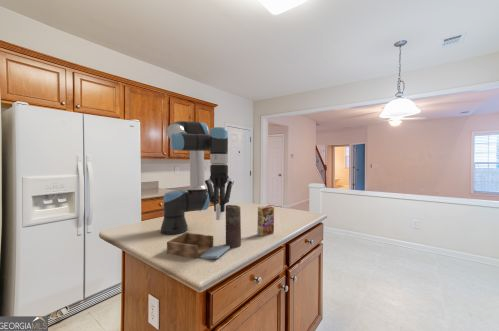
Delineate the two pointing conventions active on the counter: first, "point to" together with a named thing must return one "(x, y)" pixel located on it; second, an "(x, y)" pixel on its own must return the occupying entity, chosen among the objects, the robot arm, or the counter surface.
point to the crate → (190, 245)
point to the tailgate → (214, 252)
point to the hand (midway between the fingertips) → (219, 219)
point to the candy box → (265, 220)
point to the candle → (233, 226)
